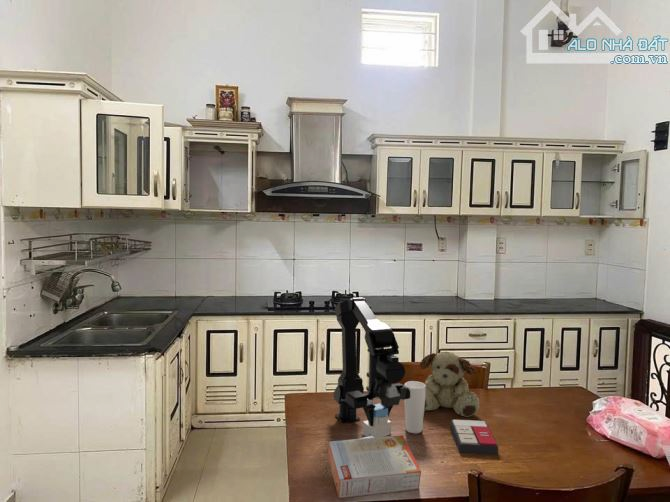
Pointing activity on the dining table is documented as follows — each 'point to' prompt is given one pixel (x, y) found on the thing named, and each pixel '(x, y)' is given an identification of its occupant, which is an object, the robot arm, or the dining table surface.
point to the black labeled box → (473, 437)
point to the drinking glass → (415, 406)
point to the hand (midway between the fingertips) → (377, 424)
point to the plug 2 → (365, 428)
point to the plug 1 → (379, 421)
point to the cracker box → (373, 466)
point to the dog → (449, 384)
